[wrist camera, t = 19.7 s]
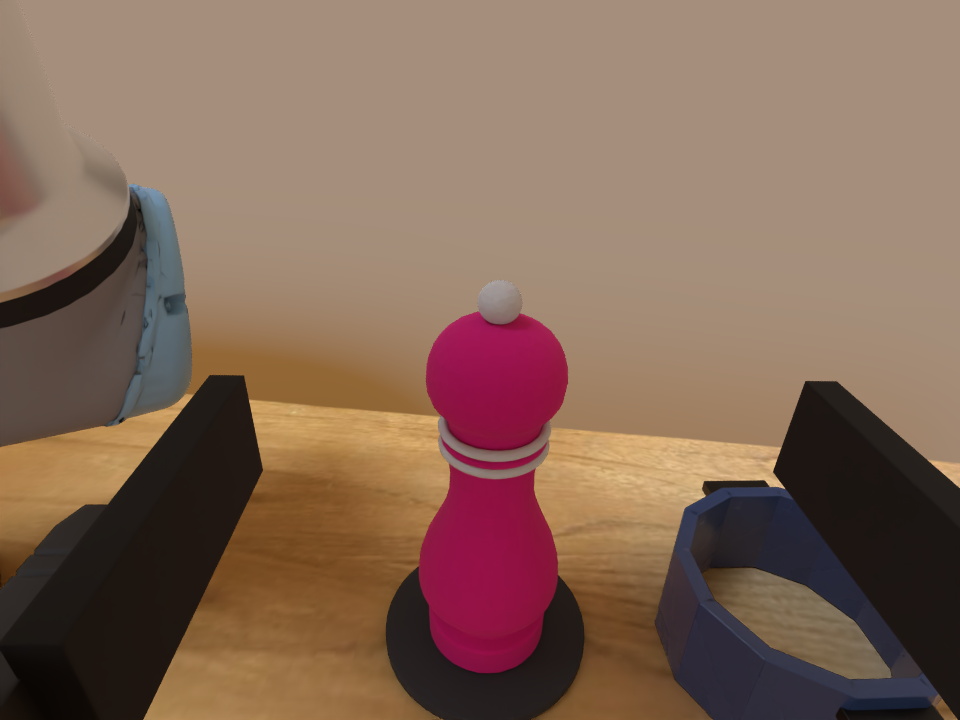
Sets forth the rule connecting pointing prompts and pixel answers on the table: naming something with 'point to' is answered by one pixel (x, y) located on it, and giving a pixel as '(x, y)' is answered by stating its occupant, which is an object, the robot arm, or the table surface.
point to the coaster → (483, 696)
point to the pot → (745, 657)
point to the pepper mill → (492, 483)
